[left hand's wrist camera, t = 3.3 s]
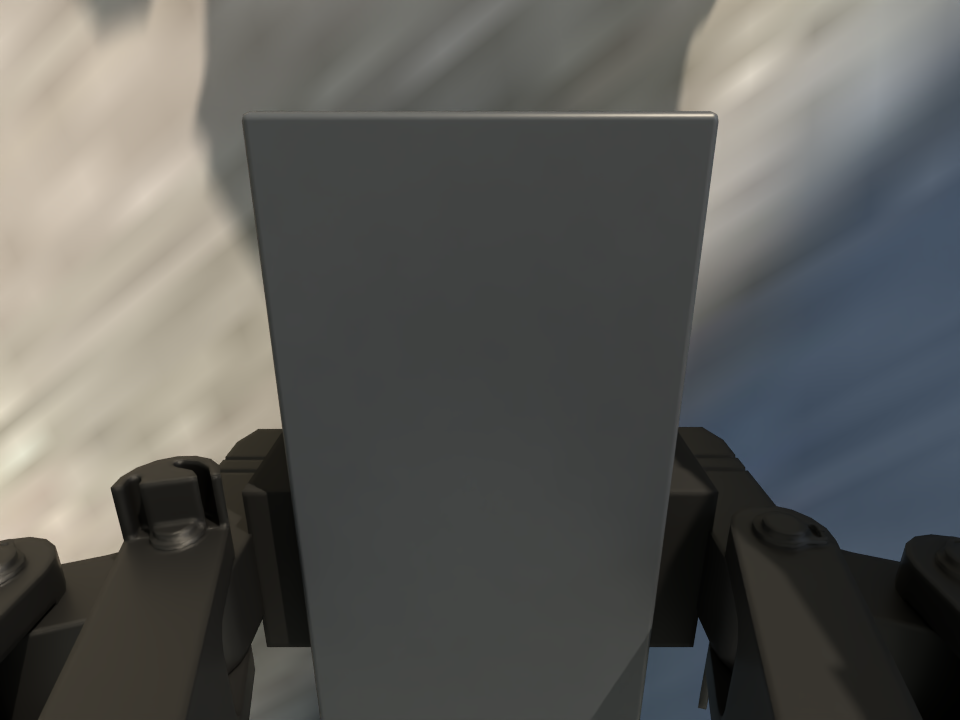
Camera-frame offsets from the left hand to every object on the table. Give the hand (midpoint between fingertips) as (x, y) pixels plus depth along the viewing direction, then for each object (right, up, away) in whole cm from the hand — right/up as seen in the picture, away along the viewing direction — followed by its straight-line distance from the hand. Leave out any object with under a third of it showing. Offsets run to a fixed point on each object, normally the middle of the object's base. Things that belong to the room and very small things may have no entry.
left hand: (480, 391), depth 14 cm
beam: (0, -33, +13) cm, 35 cm away
